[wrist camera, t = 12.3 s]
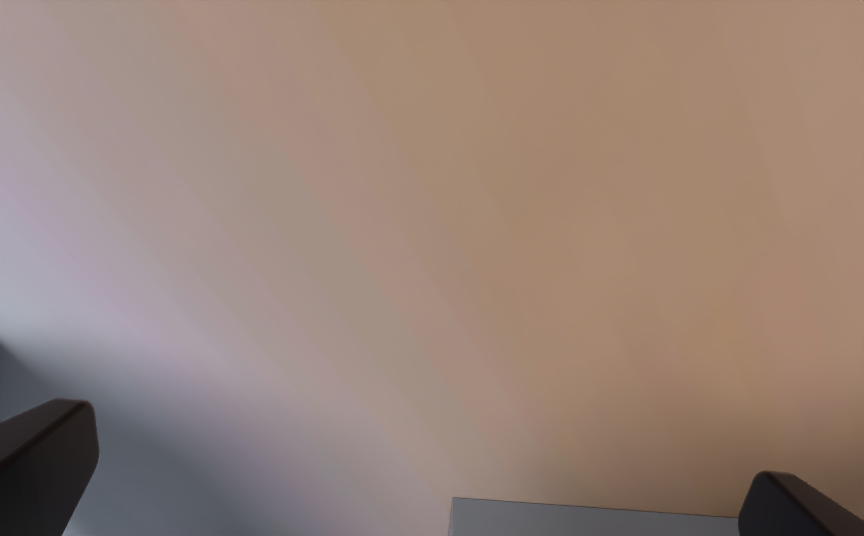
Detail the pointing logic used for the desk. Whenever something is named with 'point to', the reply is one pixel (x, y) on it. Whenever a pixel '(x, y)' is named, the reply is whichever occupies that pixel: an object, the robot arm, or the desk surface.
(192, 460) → the desk surface
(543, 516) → the sorting tray
